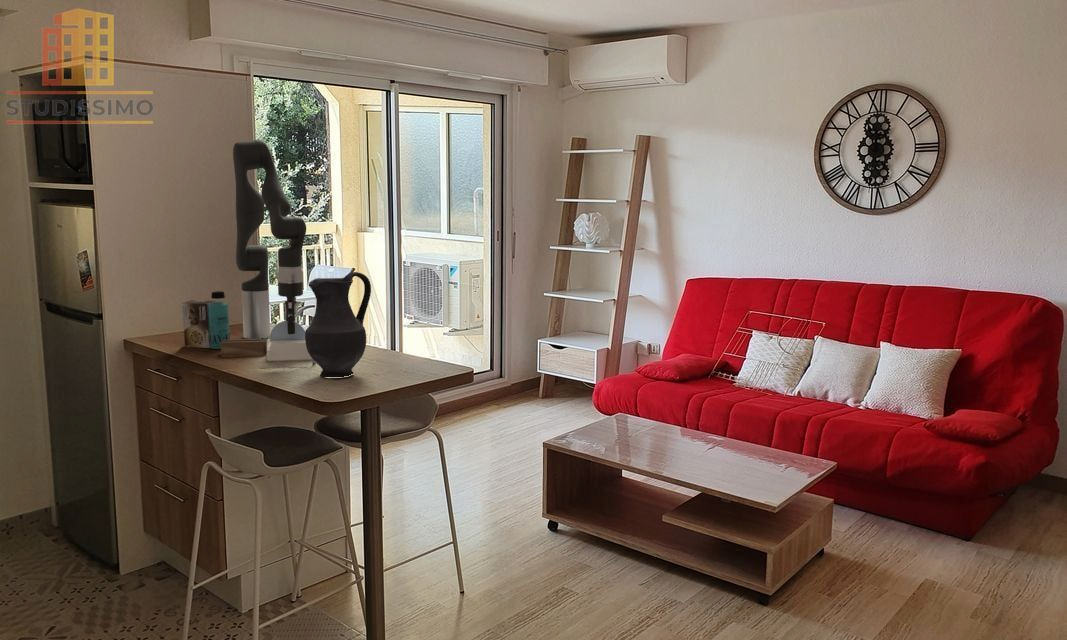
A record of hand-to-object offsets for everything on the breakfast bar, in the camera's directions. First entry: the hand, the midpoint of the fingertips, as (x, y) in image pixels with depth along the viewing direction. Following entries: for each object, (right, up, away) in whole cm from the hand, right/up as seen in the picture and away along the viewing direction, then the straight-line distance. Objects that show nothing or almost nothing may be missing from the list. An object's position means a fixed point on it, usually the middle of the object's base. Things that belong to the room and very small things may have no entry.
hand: (291, 331), depth 264 cm
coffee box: (-35, -6, +16) cm, 39 cm away
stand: (-16, -8, +3) cm, 18 cm away
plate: (-3, -7, +1) cm, 8 cm away
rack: (0, -9, +1) cm, 9 cm away
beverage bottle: (-27, -7, +12) cm, 31 cm away
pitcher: (+20, -13, -18) cm, 30 cm away
